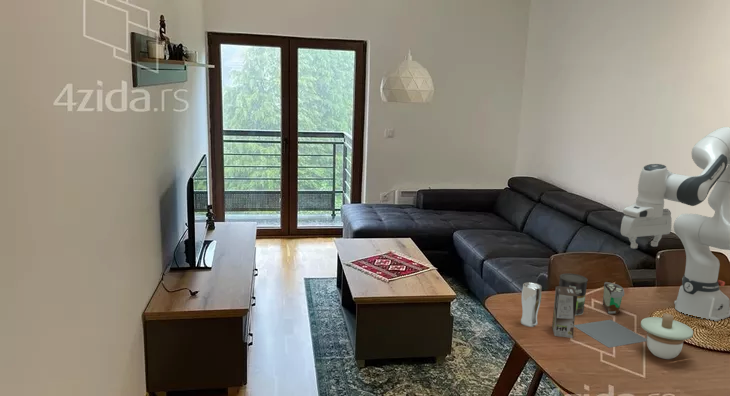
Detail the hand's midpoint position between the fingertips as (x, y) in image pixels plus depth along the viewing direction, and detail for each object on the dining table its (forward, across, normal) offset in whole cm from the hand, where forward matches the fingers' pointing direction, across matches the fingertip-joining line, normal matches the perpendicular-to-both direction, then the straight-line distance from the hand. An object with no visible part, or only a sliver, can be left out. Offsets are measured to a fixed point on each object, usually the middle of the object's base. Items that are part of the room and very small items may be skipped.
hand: (644, 247), depth 191 cm
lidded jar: (+31, +8, +20) cm, 38 cm away
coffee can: (+31, +13, -19) cm, 39 cm away
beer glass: (+31, +36, -14) cm, 50 cm away
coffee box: (+31, +29, -4) cm, 43 cm away
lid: (+22, +8, +20) cm, 31 cm away
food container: (+31, -4, -14) cm, 35 cm away
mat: (+31, +13, +2) cm, 34 cm away
